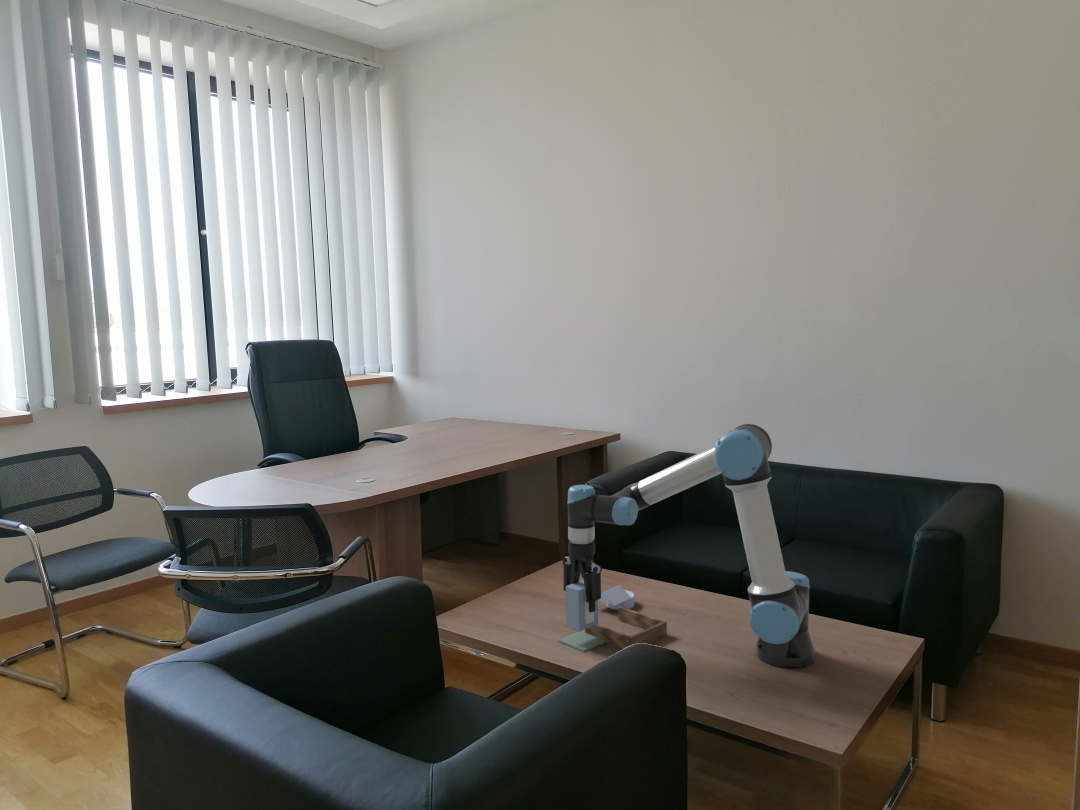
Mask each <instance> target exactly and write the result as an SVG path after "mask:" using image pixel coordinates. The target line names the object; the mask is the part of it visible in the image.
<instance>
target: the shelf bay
mask: <svg viewBox="0 0 1080 810" xmlns="http://www.w3.org/2000/svg"><path fill="white" fill-rule="evenodd" d="M618 621H620V622H622V623H623V622H624V623H626V624H629V625H632V626H635V627H637V628H640V629H642V630H641V631H638V632H636V633H635V634H632V635H628V634H625V633H623V632H620V631H618V630H614V629H612V628H610V627H606V626H605V625H602V624H599V623H598V624H597V625H594V626H592V627H590V628H587V629H585V630H584V631H585V633H587V634H590V635H592V636H595V637H597V638H600V639H603V640H605V643H606V644H609V645H611V646H614V647H617V648H619V649H622V650H624V649H623V648H625V647H627V646H629V645H632V644H635V643H649V644H651V643H653V642H655V641H657V640H660V639H662V638H664V637H665V636H667V635H668V634H667V633H668V631H667V630H668V627H667V625H668V623H667V621H665V620H662V619H660V618H659V619H658V618H656V617H653V616H650V615H647V614H644V613H641V612H638V611H635V610H633V609H631V608H630V609H627V608H624V607H619V610H618Z"/></svg>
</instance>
